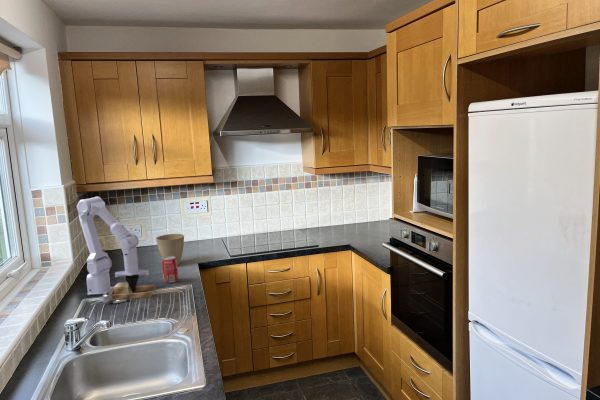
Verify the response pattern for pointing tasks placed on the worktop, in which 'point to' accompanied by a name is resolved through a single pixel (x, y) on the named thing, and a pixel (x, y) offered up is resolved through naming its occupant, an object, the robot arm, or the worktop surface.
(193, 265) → the worktop surface
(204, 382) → the worktop surface
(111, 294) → the winch drum
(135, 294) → the bay
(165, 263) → the soda can
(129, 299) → the crank handle
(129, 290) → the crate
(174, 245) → the plant pot
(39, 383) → the worktop surface
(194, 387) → the worktop surface
